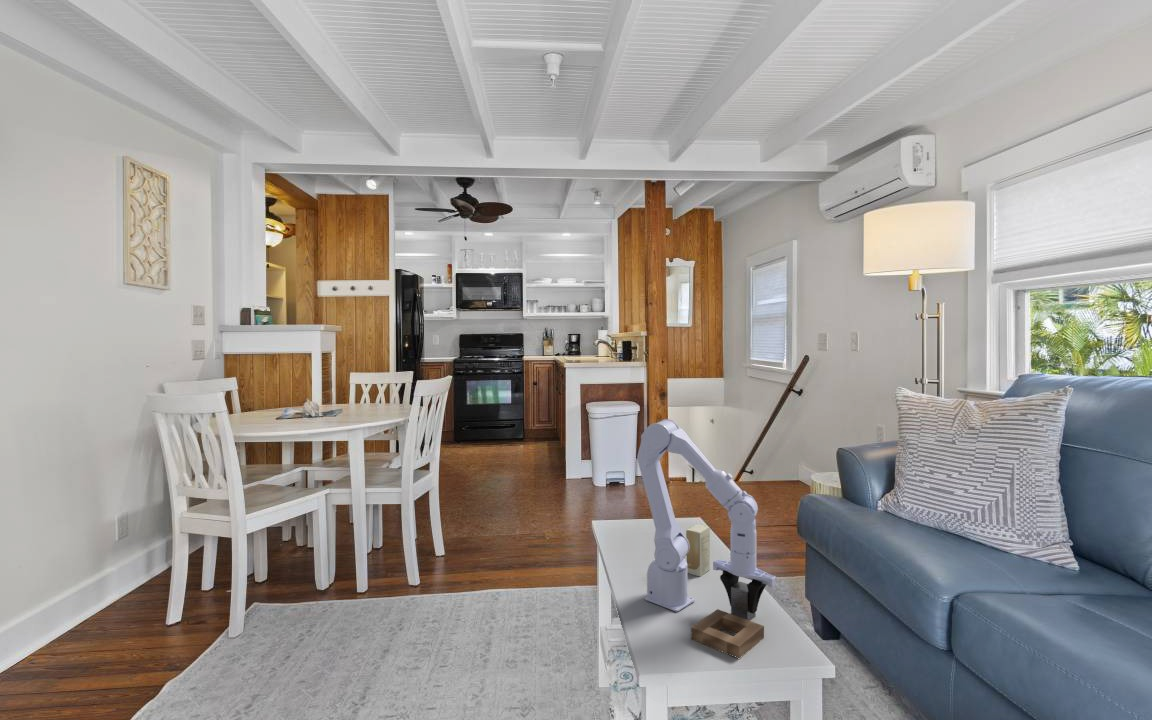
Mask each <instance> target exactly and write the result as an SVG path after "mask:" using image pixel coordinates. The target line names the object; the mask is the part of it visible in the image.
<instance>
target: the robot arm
mask: <svg viewBox="0 0 1152 720" xmlns="http://www.w3.org/2000/svg"><path fill="white" fill-rule="evenodd" d="M640 439H641V440H640V445H639V448H638V453H637V457H636V458H637V459H636V460H637V463H638V464H637V465H638V467H639V472H640V475H641V479H642V482H643V486H644V489H645V492H646V497H647V501H648V505H649V509H650V513H651V516H652V520H653V524H654V527H655V533H654V537H653V542H654V546H655V549H654V553H653V554H654V560H653V561H652V562H650V563H649V565H648V568H647V572H646V596H645V598H644V599H645V601H647V602H650V603H654V604H655V605H657V606H660V607H663V608H666V609H669V610H670V611H673V612H676V613H678V612H679V611H682V609H685V608H686V607H687V606H690V605H691V604H692V603H694V602H695V598H693V597H691V596H688V595H689V594H688V592H689V591H688V590H689V589H688V587H689V586H688V585H689V584H688V583H689V582H688V573H687V558H686V557H687V554H688V552H689V549H690V545H689V542H688V540H687V538H686V536H685V534H684V533H683V529H682V527H681V526H680V525H679V524H678V522H677V520H676V517H675V516H676V515H675V513H674V509H673V506H672V502H671V498H670V495H669V490H668V487H667V483H666V479H665V476H664V472H663V468H662V465H661V458H662V457H663V456H664V454H665V453H666V452H667V453H672V454H677V455H680V456H682V457H683V458H684V459H685V460H686V462H688V463H689V464H690V465H691V466H692V467H693V469H695V471H697V472H698V473H699V474H700V475H701V477H703V478H704V480H705V481H704V482H705V484H704V485H705V488H706V489H707V490H708V491H709V492H710V493H711V495H712V496H713V497H714V499H716V500H717V502H718V503H720V505H721V506H722V507H723V508H724V509H726V511H727V516H728V519H729V521H730V525H731V526H730V529H729V530H730V533H729V534H730V537H729V538H730V540H729V542H730V550H729V551H730V556H729V557H730V560H729V561H727V560H722V559H718V558H717V559H715V560H714V561H712V570H713V571H721V572H722V573H721V575H719V577H720V578H719V579H720V581H721V583H722V584H723V586H724V589H725V592H726V594H727V597H728V601H729V606H730V607H731V587H732V586H733V585H735V584H736V583H738V582H739V579H740V578H744V579H747V580H751V581H750V582H749V583H746V584H747V588H748V592H749V600H750V603H749V610H750V613H752V614H753V613H755V612H757V611H758V605H759V602H760V599H761V596H762V594H763V592H764V590H765V588H766V586H767V587H769V588H773V587H775V586H776V583H777V577H776V575H772V574H770V573H768V572H766V571H764V570H761V569H760V568H758V567H757V529H756V528H757V523H756V520H757V519H756V516H757V515H758V512H759V511H758V510H759V507H758V503H757V501H756V500H755V497H754V496H752V495H750V494H748V493H747V491H746V490H742V489H741V487H739V485H738V484H737V483H736V482H735V481H734V480H733V478H734V477H733V475H732V474H731V473H730V472H728V473H726V472H725V471H724V470H721V469H716V468H715V467H714V465H712V463H711V462H710V461H709V459H707V457H706V456H705V455H704V453H702V452H701V450H700V449H699V447H698V446H697V445H695V443H694V442H693V441H692V439H691V438H690V437H689V435H688V434H687V433H686V432H685V430H684V429H682V428H681V427H679V425H678V423H677V422H675V420H673V419H669V418H665V419H661V420H659V421H658V422H654V423H651V424H649V425H648V426H647V427H646V429H644V431H643V432H642V434H641V435H640Z"/></svg>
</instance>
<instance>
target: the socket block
mask: <svg viewBox="0 0 1152 720" xmlns="http://www.w3.org/2000/svg"><path fill="white" fill-rule="evenodd" d="M690 630H691V631H690V632H691V634H690V635H691V640H693V641H696V642H698V643H700V644H703V645H705V646H708V647H709V648H712V649H715V650H717V651H719V650H720V652H721V651H723V652H722V653H724V652H725V653H724V654H726V653H728V654H727V655H729V654H731V655H733V656H736V657H738V658H740V657H741V656H742V655H743V654H745V653H746V652H747V651H748V650H749V651H750V650H752V649H753V648H754V647H755V646H756V645H757V644H758V643H760V642H761V641H762V640H764V638H765V625H762V624H759V623H756V622H754V621H752V620H751V621H749V620H746V619H743V618H741V617H738V616H735V615H732V614H731V612H730V613H729V612H727V611H725V610H720V609H719V608H717V609H716V610H714V611H713V612H711V613H710V614H708V615H707V616H705V617H704V618H703V619H701V620H699V621H698V622H697V623H696V624H694V625H693V626H691V629H690ZM722 630H725V631H726V632H727V631H728V632H730V633H733V634H735V635H730V634H728V633H725V632H723V631H722ZM760 640H761V641H760ZM759 641H760V642H759ZM753 646H754V647H753ZM752 647H753V648H752ZM749 651H748V652H749ZM748 652H747V653H748ZM747 653H746V654H747ZM746 654H745V655H746ZM731 655H730V656H731ZM733 656H732V657H733ZM743 656H744V655H743ZM743 656H742V657H743ZM736 657H735V658H736ZM742 657H741V658H742ZM738 658H737V659H738ZM741 658H740V659H741Z"/></svg>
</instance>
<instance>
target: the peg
mask: <svg viewBox="0 0 1152 720" xmlns="http://www.w3.org/2000/svg"><path fill="white" fill-rule="evenodd" d="M747 584H748V583H745V582H743V581H739V580H738V583H736V584H735V585H733V586H732V587H731V606H730V614H732V615H735V616H738V617H741V618H743V619H746V620H749V621H752V620H753V619H755V618H756V614H757V613H756V612H757V611H756V612H755V613H753V614H752V613H750V610H749V603H750V600H749V592H748V588H747Z"/></svg>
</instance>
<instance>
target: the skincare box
mask: <svg viewBox="0 0 1152 720" xmlns="http://www.w3.org/2000/svg"><path fill="white" fill-rule="evenodd" d="M710 532H711V530H710V526H707V525H702V524H697V523H696V524H693V525H692V526H690V527H688V528H687V529H686V530H685V535H686V536H685V537H686V538H687V540H688V542H689V545H690V549H689V552H688V554H687V555H686V562H687V574H690V575H693V576H695V577H696V576H697V577H702V576H704V575H705V574H706V573H707V572H709V571H710V570H711V547H710V546H711V545H710V544H711V539H710V537H711V535H710V534H711V533H710Z"/></svg>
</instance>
